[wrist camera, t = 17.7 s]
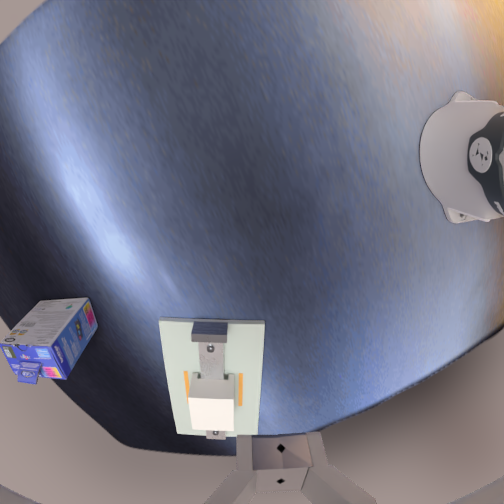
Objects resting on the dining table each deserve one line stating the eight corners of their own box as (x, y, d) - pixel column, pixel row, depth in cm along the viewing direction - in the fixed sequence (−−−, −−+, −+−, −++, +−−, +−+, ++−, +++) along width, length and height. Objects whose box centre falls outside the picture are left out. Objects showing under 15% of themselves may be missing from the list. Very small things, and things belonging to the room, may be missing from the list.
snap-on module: (234, 374, 43) (233, 399, 38) (234, 407, 45) (233, 431, 40) (192, 372, 42) (187, 397, 38) (196, 405, 45) (192, 429, 40)
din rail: (227, 322, 40) (226, 335, 37) (229, 433, 48) (229, 446, 45) (194, 321, 40) (190, 333, 37) (203, 432, 47) (202, 444, 45)
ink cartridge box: (51, 330, 42) (6, 385, 28) (39, 299, 40) (-14, 350, 26) (100, 329, 41) (59, 394, 28) (89, 296, 40) (38, 355, 26)
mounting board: (264, 320, 41) (264, 324, 40) (256, 432, 49) (257, 437, 48) (160, 317, 41) (158, 321, 40) (178, 429, 48) (177, 433, 47)
